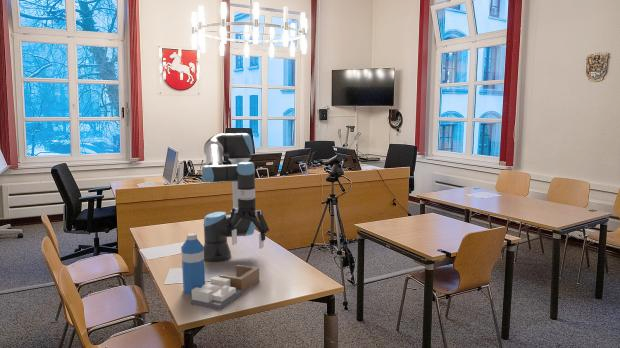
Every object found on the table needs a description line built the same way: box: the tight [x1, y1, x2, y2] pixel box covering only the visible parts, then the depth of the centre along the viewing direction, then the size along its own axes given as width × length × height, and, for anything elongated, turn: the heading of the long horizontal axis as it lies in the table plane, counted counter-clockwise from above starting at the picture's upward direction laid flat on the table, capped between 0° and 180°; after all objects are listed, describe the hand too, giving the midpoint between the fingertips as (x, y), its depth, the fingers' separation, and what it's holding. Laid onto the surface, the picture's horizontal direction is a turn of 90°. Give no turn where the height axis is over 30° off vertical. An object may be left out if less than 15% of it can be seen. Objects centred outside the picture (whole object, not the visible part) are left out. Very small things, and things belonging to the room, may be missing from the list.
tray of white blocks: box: [190, 276, 243, 311], centre depth 190 cm, size 14×16×10 cm
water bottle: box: [180, 232, 206, 296], centre depth 197 cm, size 9×9×25 cm
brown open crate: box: [219, 264, 260, 293], centre depth 204 cm, size 11×15×6 cm
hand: (247, 246), depth 200 cm, fingers open, 13 cm apart
